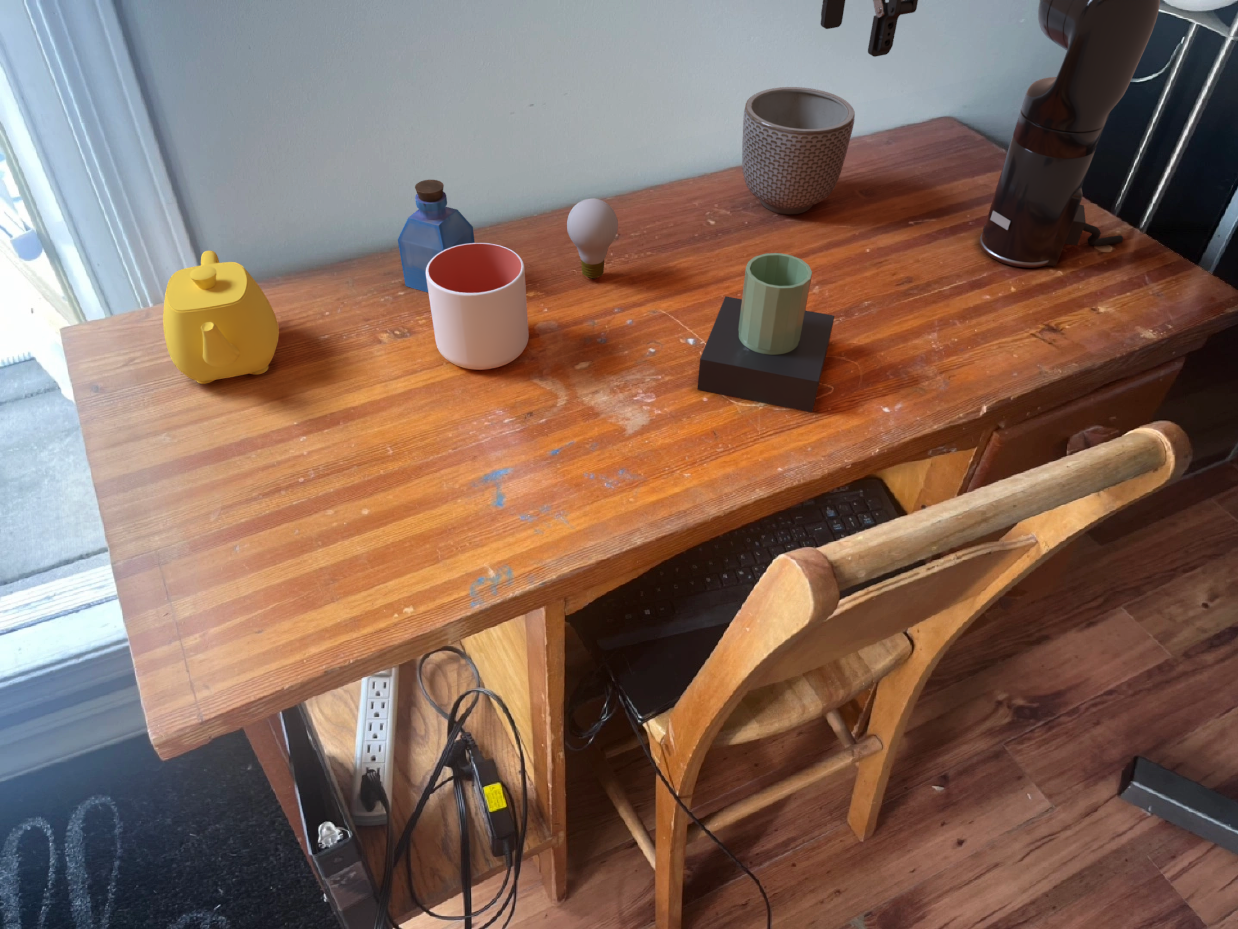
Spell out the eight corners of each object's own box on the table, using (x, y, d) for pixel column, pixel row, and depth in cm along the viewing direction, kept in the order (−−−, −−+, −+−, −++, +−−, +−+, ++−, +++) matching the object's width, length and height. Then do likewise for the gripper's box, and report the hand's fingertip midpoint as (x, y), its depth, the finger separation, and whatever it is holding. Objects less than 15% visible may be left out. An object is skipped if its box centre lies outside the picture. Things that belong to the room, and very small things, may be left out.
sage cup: (804, 325, 100) (816, 258, 94) (794, 360, 95) (806, 292, 90) (744, 314, 101) (753, 248, 96) (732, 348, 97) (740, 281, 91)
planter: (728, 220, 124) (738, 124, 115) (741, 173, 134) (751, 81, 125) (834, 234, 122) (853, 137, 113) (840, 184, 131) (858, 91, 123)
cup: (514, 381, 99) (508, 300, 92) (423, 368, 100) (410, 287, 93) (539, 327, 106) (535, 248, 99) (454, 315, 107) (444, 237, 100)
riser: (828, 345, 104) (834, 315, 101) (812, 412, 96) (818, 381, 93) (722, 326, 106) (725, 295, 104) (697, 389, 98) (699, 358, 95)
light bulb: (627, 277, 113) (629, 201, 107) (593, 297, 110) (592, 219, 103) (592, 259, 116) (591, 183, 109) (558, 277, 113) (555, 201, 106)
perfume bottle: (477, 273, 114) (468, 180, 105) (450, 298, 110) (437, 204, 101) (434, 261, 116) (421, 168, 107) (405, 286, 111) (389, 192, 103)
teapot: (291, 403, 95) (265, 315, 88) (176, 425, 93) (139, 336, 85) (279, 307, 108) (256, 223, 100) (177, 324, 105) (145, 238, 98)
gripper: (968, -134, 81) (927, 58, 92) (872, -165, 91) (845, 13, 102) (896, -125, 79) (862, 70, 90) (805, -158, 89) (785, 23, 100)
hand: (853, 40), depth 96 cm, fingers open, 8 cm apart
